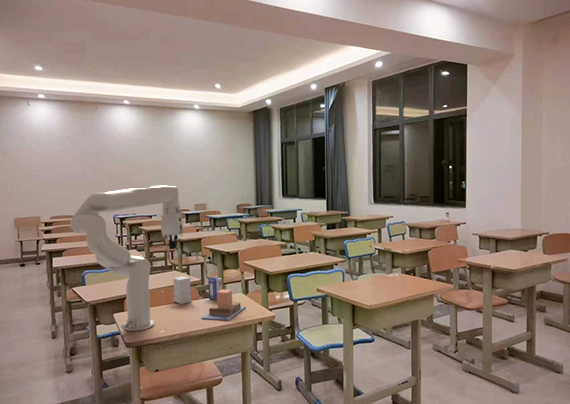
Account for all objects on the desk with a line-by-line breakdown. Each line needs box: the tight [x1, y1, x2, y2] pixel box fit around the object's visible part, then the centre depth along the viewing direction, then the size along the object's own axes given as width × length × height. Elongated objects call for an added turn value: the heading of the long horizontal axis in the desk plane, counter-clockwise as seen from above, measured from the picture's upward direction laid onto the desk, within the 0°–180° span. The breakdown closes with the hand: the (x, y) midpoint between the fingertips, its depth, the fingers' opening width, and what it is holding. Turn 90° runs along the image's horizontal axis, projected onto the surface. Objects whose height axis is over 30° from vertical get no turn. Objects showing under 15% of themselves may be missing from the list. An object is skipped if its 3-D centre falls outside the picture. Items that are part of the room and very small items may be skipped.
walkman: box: [207, 276, 224, 301], centre depth 224 cm, size 8×3×12 cm, turn 58°
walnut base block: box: [208, 301, 242, 316], centre depth 198 cm, size 12×11×3 cm
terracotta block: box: [216, 289, 233, 307], centre depth 198 cm, size 6×6×7 cm
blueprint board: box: [201, 306, 246, 322], centre depth 197 cm, size 20×14×1 cm
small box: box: [173, 275, 192, 305], centre depth 221 cm, size 8×6×13 cm
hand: (172, 248), depth 199 cm, fingers closed
